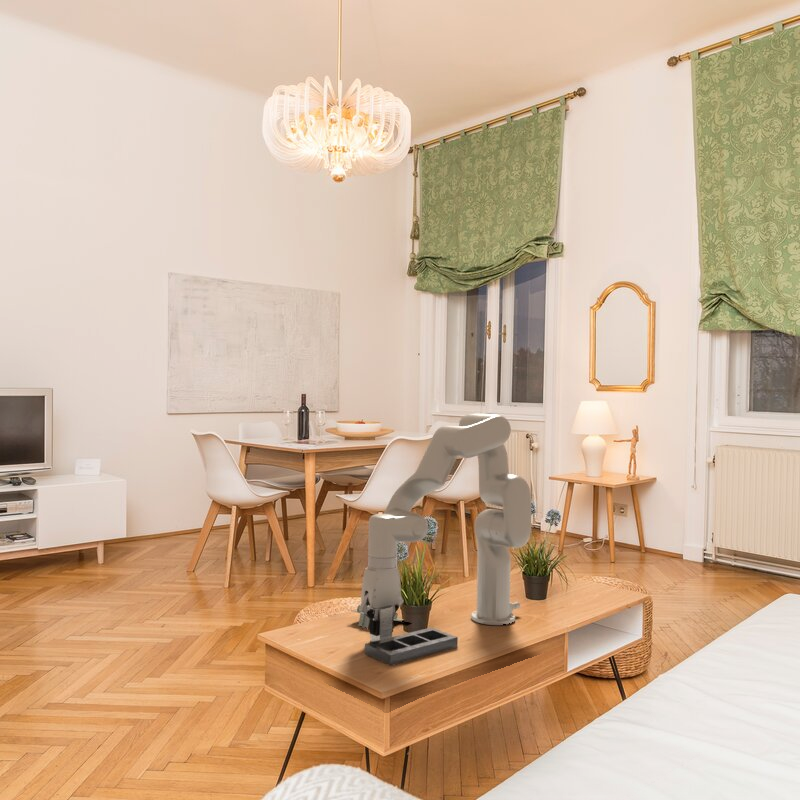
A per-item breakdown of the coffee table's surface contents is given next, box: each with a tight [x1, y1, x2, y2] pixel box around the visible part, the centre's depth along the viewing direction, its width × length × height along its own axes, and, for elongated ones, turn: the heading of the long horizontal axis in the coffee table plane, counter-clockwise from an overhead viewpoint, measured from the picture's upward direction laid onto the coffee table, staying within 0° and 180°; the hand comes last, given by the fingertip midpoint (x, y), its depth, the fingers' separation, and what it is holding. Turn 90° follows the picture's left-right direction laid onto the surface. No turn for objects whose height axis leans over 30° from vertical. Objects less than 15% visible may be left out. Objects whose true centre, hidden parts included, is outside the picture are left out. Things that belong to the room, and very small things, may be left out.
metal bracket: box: [350, 604, 403, 629], centre depth 204 cm, size 14×6×15 cm
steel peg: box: [369, 606, 393, 642], centre depth 187 cm, size 4×4×9 cm
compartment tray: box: [364, 627, 458, 667], centre depth 181 cm, size 22×10×2 cm, turn 130°
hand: (381, 632), depth 187 cm, fingers closed on steel peg, 4 cm apart
